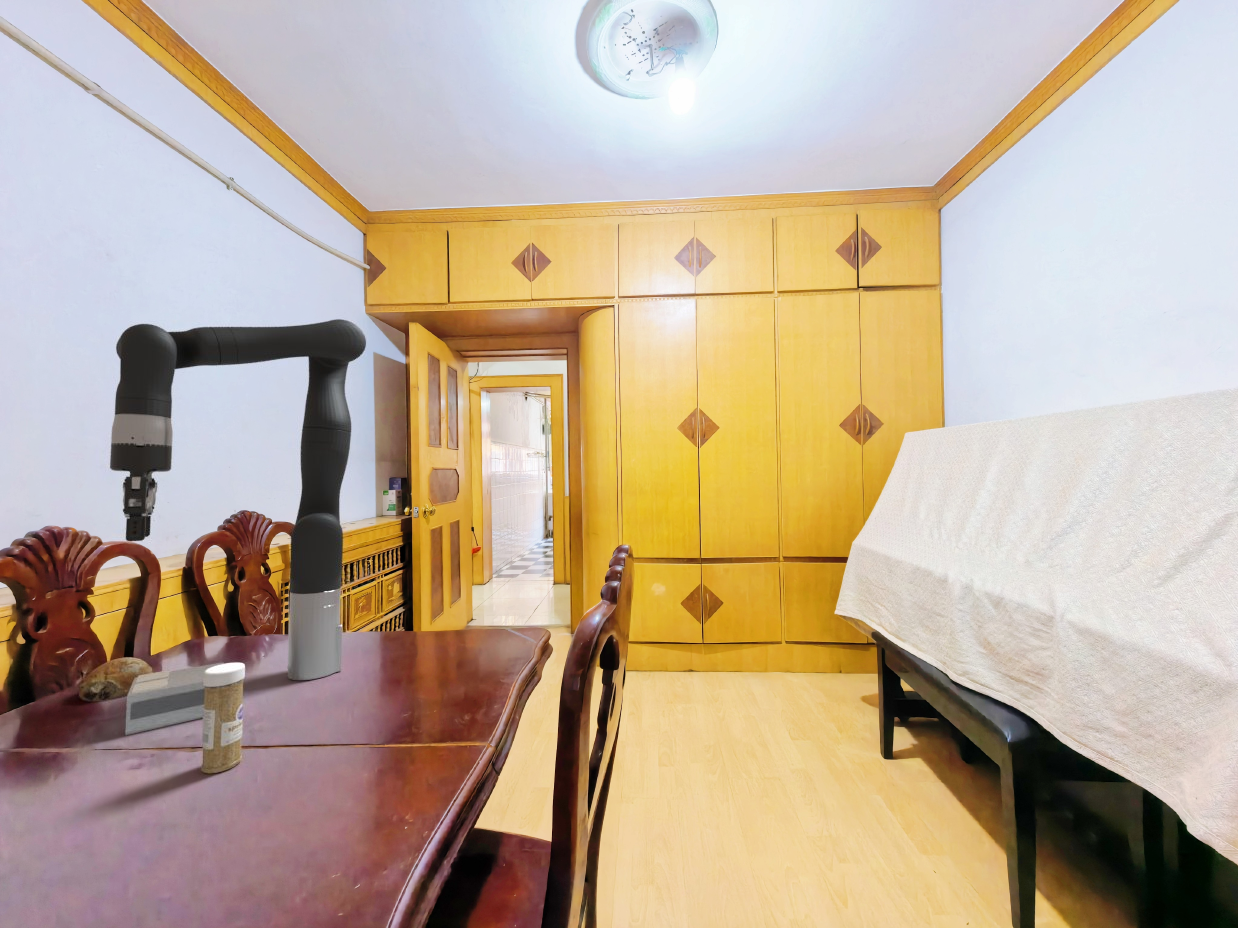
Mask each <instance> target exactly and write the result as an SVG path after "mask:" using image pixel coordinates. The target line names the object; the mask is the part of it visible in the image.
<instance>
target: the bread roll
mask: <svg viewBox="0 0 1238 928" xmlns="http://www.w3.org/2000/svg"><path fill="white" fill-rule="evenodd" d="M150 673H154V672H153V667H151V666H150V665H149V664H148V663H147V662H146V661H144V660H142V659H140V658H137V657H131V656H130V657H127V656H126V657H120V658H115V659H111V660H109V661H105V663H102V664H101V665H99V666H97V667H96V668H95V669H93V670H92V671H90V672H89V673H88V674H87V675H86V677H85V678H84V679H83V680H82V681H81V684H80V686H79V687H78V688H79V689H78V692H77V693H78V696H79V698H80V699H81V700H82V701H84V702H85V701H87V702H102V700H103V701H108V700H113V699H114V700H115V699H119V698H123V697H127V695H128V693H129V690H130V688H131V686H132V683H133V681H134V679H135V678H136V677H138V676H139V675H144V674H150ZM122 696H123V697H122ZM118 697H119V698H118ZM107 699H108V700H107Z"/></svg>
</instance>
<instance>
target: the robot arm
mask: <svg viewBox="0 0 1238 928" xmlns="http://www.w3.org/2000/svg"><path fill="white" fill-rule="evenodd" d="M366 347H367V339H366V336H365V333H364V331H363V330H362V329H361V328H360V327H359V326H358V325H357V324H355V323H354V322H352V321H349V320H346V319H341V318H340V319H337V318H336V319H330V320H328V321H326V320H325V321H323V322H315V323H310V324H302V325H301V324H299V325H287V326H201V327H194V328H191V329H187V330H184V331H181V330H180V331H167V330H165V329H164V328H163V327H161V326H158V325H155V324H149V323H138V324H134V325H131V326H129V327H128V328H126V329H125V330H124V331H123V332H122V333H121V335H120V337H119V338H118V339H117V343H116V346H115V350H116V355H117V356H118V358H119V359H120V363H119V365H120V367H119V368H120V369H119V371H120V372H119V375H120V377H119V382H118V383H117V387H116V391H115V398H114V399H115V401H114V417H113V423H112V426H111V437H110V439H111V440H110V441H111V442H110V455H109V456H110V458H109V468H110V470H111V471H115V472H129V476H125V478H124V481H123V484H122V492H123V496H122V505H123V508H122V512H123V515H124V516H125V517H124V518H126V521H125V522H126V523H125V525H126V526H125V541H127V542H141V541H142V542H143V541H144V540H145V539H146V538H148V537H149V536H150V535H151V521H152V520H151V519H152V518H151V517H152V515H153V513H154V510H155V505H156V501H157V500H156V499H157V496H156V494H157V492H158V482H157V481H156V480H155V478H154V477H153V476H152V475H153V473H157V472H158V473H160V472H161V473H163V472H165V473H166V472H170V471H171V470H172V458H173V456H172V455H173V434H174V433H173V426H172V425H173V424H172V412H173V411H172V408H173V407H172V405H173V397H172V388H173V387H172V386H173V383H174V377H175V372H176V370H180V369H187V368H194V367H202V366H210V367H211V366H212V367H213V366H217V367H218V366H232V365H245V364H246V365H247V364H254V363H255V364H257V363H262V362H263V363H265V362H270V361H277V360H285V359H290V358H305V357H306V358H308V387H307V393H306V400H305V406H304V414H303V421H302V422H303V423H302V430H301V438H300V439H301V440H300V474H301V494H300V501H299V505H298V511H297V514H296V515H297V516H296V520H295V522H294V526H293V529H292V530H291V531H292V532H291V535H290V556H289V557H290V563H289V564H290V568H289V586H290V587H289V611H288V613H289V614H288V615H289V616H288V620H289V621H288V644H287V645H288V647H287V650H288V653H287V678H288V679H290V680H293V681H308V680H315V679H321V678H323V677H327V676H330V675H332V674H334V673H337V672H341V671H342V664H343V663H342V661H343V660H342V659H343V657H342V656H343V655H342V654H343V653H342V652H343V651H342V650H343V624H342V623H341V602H342V601H341V599H342V598H341V596H342V576H343V558H344V557H343V556H344V555H343V553H344V531H343V528H342V525H341V521H340V499H341V498H340V496H341V489H342V484H343V481H344V477H345V473H346V470H347V465H348V460H349V454H350V449H351V439H352V438H351V437H352V420H351V419H352V417H351V414H350V410H349V406H348V402H347V397H346V391H345V390H346V388H345V387H346V378H347V372H348V367H349V364H350V363H351V362H354V361H355V360H357V359H358V358H360V357H361V356H362V354H363V353H364V351H365V350H366Z"/></svg>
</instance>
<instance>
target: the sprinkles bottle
mask: <svg viewBox="0 0 1238 928" xmlns="http://www.w3.org/2000/svg"><path fill="white" fill-rule="evenodd" d="M245 677H246V665H245V663H243V662H227V663H224V664H221V665H217V666H214V667H211V668H209V669H207V670H206V671H205V672H204V678H203V685H204V687H205V698H204V709H203V718H202V736H201V737H202V738H201V740H202V744H201V745H202V764H201V765H200V771H201V772H203V773H205V774H216V773H221V772H226V771H228V770H229V769H232V768H234V767H235V766H237V765H238V764H239V763H240V762H241V761H242V759H243V754H242V738H243V721H244V720H243V718H244V714H243V713H244V712H243V711H244V702H243V696H244V695H243V694H244V687H243V686H244V681H245V680H244V679H245Z"/></svg>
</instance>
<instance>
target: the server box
mask: <svg viewBox="0 0 1238 928" xmlns="http://www.w3.org/2000/svg"><path fill="white" fill-rule="evenodd" d="M221 664H225V663H224V662H222V661H221V662H217V663H212V664H211V663H210V664H205V665H200V666H195V667H194V666H193V667H190V668H183V669H182V668H181V669H177V670H170V669H169V670H163V671H157V672H153V673H150V674H144V675H139V676H138V677H136V678H135V679H134V681H133V683H132V686H131V688H130V690H129V693H128V695H127V696H126V715H125V736H129V735H132V734H133V735H134V734H137V733H142V732H146V731H152V730H154V729H160V728H165V727H168V726H172V725H178V724H181V723H186V722H190V721H194V720H195V721H196V720H199V719H203V709H204V698H205V687H204V685H203V678H204V672H205V671H206V670H207V669H209V668H211V667H214V666H217V665H221Z"/></svg>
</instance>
